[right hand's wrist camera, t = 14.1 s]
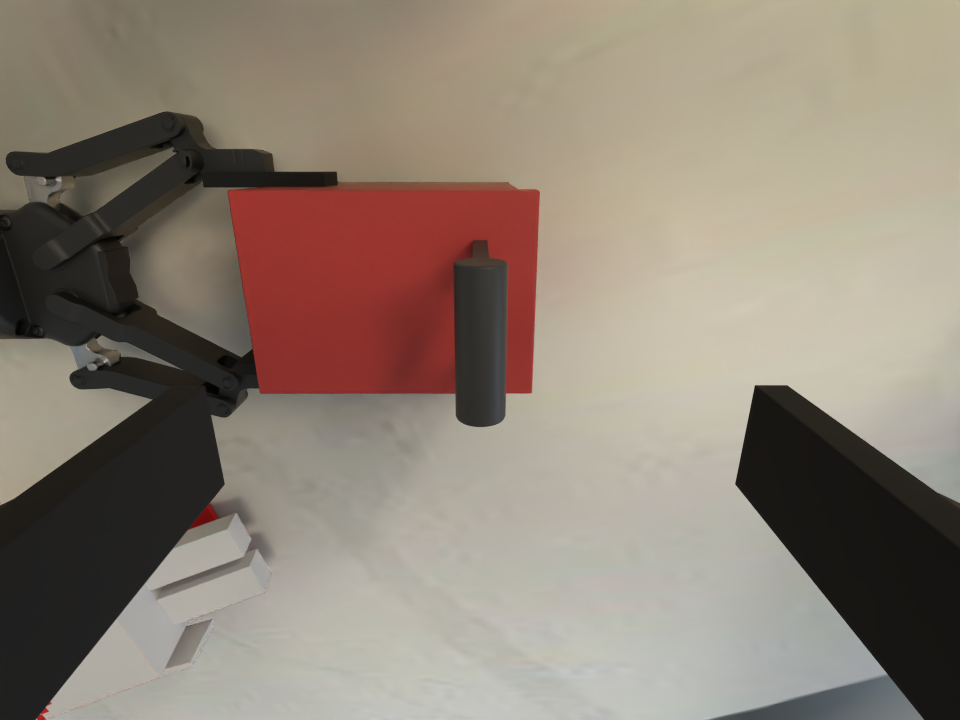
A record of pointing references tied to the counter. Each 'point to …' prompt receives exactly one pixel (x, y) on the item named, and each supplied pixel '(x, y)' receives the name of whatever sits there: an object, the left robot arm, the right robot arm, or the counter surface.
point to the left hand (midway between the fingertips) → (340, 275)
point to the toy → (169, 613)
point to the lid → (391, 291)
